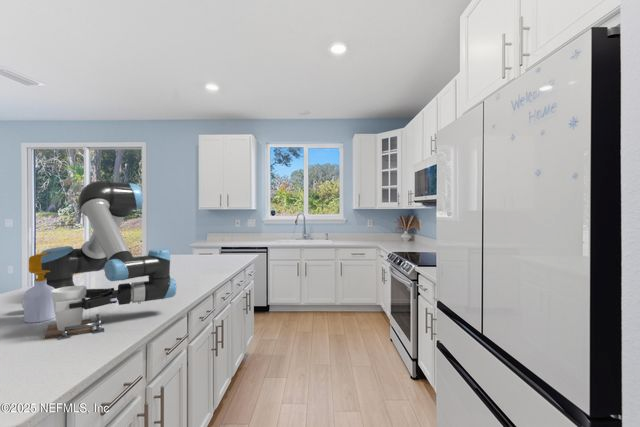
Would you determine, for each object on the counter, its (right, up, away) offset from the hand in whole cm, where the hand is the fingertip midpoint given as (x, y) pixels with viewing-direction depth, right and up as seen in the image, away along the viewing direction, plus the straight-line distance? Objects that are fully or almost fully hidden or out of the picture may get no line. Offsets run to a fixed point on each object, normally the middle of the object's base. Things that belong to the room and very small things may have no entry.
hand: (57, 302), depth 107 cm
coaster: (+3, -10, +2) cm, 10 cm away
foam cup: (+3, -9, +2) cm, 10 cm away
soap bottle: (-16, -10, +12) cm, 22 cm away
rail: (+7, -10, +2) cm, 12 cm away
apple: (-25, -10, +20) cm, 34 cm away
